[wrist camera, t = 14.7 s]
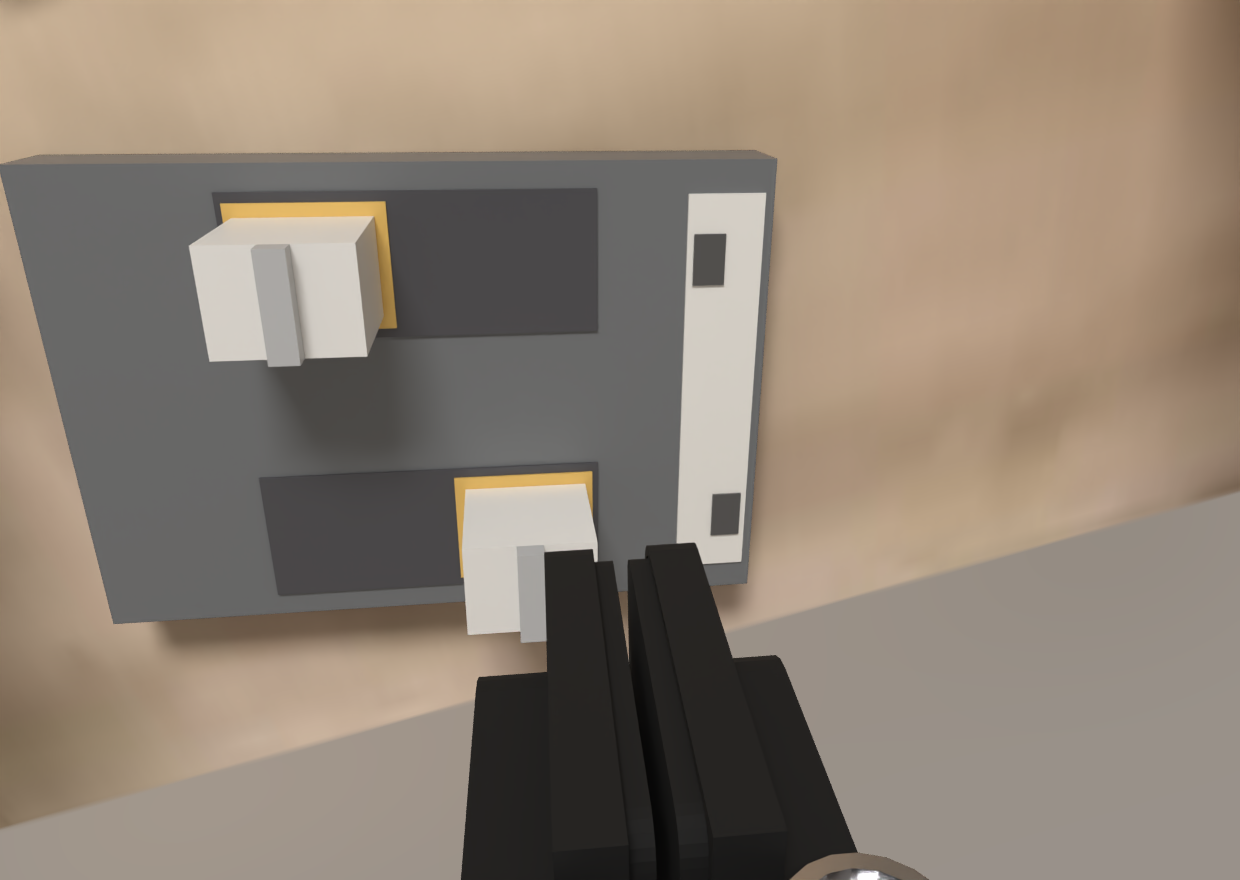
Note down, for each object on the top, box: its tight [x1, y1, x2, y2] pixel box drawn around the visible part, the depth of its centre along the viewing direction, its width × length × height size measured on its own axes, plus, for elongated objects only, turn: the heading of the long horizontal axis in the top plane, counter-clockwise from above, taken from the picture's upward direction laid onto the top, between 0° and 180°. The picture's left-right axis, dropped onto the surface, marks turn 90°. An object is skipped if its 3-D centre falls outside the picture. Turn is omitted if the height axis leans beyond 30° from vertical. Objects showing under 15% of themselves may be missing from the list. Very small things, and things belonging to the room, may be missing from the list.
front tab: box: [189, 216, 384, 367], centre depth 25 cm, size 4×3×5 cm
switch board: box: [0, 150, 777, 624], centre depth 30 cm, size 22×15×3 cm
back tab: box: [462, 484, 598, 643], centre depth 29 cm, size 4×3×5 cm
